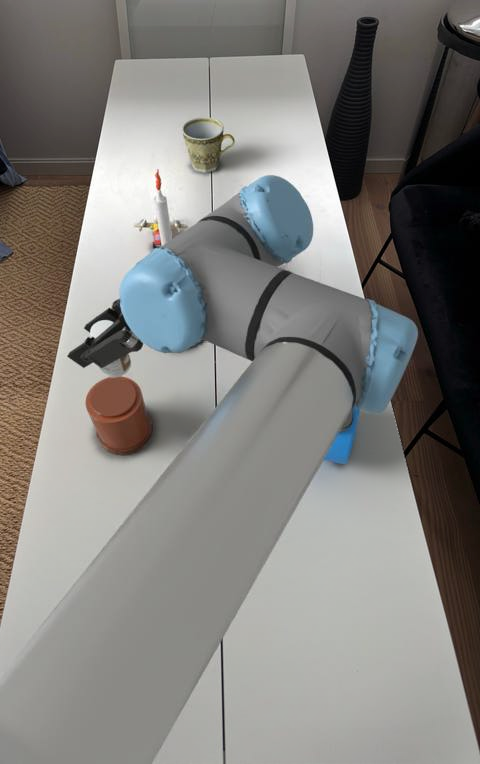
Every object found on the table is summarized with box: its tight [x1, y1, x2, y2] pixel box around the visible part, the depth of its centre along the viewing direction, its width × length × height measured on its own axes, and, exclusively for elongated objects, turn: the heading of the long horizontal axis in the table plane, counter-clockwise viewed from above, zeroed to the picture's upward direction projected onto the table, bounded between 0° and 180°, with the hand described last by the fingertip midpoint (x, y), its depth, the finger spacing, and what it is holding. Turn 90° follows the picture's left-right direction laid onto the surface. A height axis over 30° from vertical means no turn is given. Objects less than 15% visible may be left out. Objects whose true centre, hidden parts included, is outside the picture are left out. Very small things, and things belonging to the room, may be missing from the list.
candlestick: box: [153, 168, 194, 349], centre depth 93 cm, size 11×11×35 cm
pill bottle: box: [89, 320, 132, 378], centre depth 73 cm, size 4×4×8 cm
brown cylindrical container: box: [85, 375, 154, 456], centre depth 90 cm, size 9×9×11 cm
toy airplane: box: [133, 214, 188, 249], centre depth 121 cm, size 9×9×6 cm
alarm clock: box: [323, 408, 361, 465], centre depth 86 cm, size 13×6×15 cm, turn 165°
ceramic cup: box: [181, 116, 236, 174], centre depth 135 cm, size 13×10×10 cm
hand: (85, 345), depth 75 cm, fingers closed on pill bottle, 4 cm apart
